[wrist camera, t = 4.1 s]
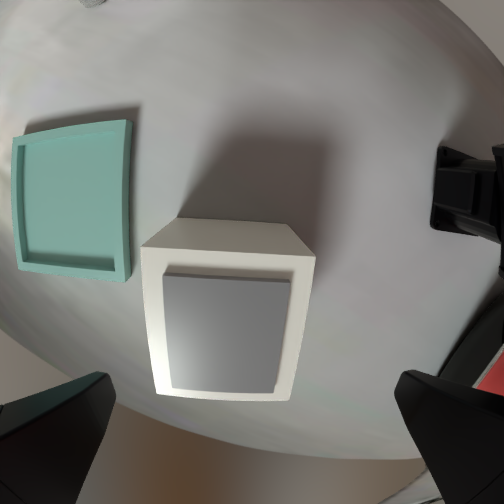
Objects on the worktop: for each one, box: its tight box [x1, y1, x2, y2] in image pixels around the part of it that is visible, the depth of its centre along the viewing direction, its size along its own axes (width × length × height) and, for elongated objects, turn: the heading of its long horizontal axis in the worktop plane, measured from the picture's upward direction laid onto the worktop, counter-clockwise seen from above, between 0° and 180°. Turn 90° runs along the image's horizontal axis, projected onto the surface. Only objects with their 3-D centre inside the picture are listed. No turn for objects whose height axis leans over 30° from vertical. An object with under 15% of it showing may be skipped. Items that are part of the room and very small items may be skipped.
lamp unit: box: [141, 218, 316, 401], centre depth 15 cm, size 7×8×7 cm
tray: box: [11, 119, 133, 282], centre depth 16 cm, size 10×10×1 cm
